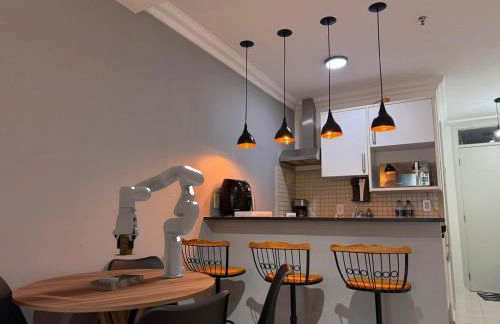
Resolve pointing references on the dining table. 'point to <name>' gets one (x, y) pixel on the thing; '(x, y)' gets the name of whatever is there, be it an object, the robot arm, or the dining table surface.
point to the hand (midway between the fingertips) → (125, 248)
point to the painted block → (108, 279)
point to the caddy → (123, 282)
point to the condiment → (124, 246)
